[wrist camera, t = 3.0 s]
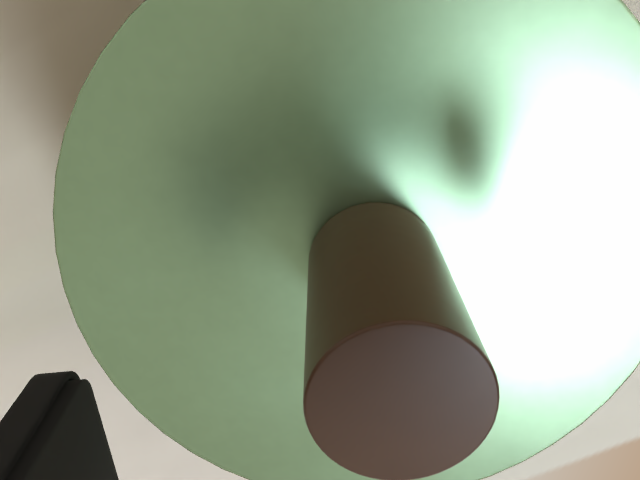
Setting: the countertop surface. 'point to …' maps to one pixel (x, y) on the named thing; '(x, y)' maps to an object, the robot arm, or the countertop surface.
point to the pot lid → (359, 228)
